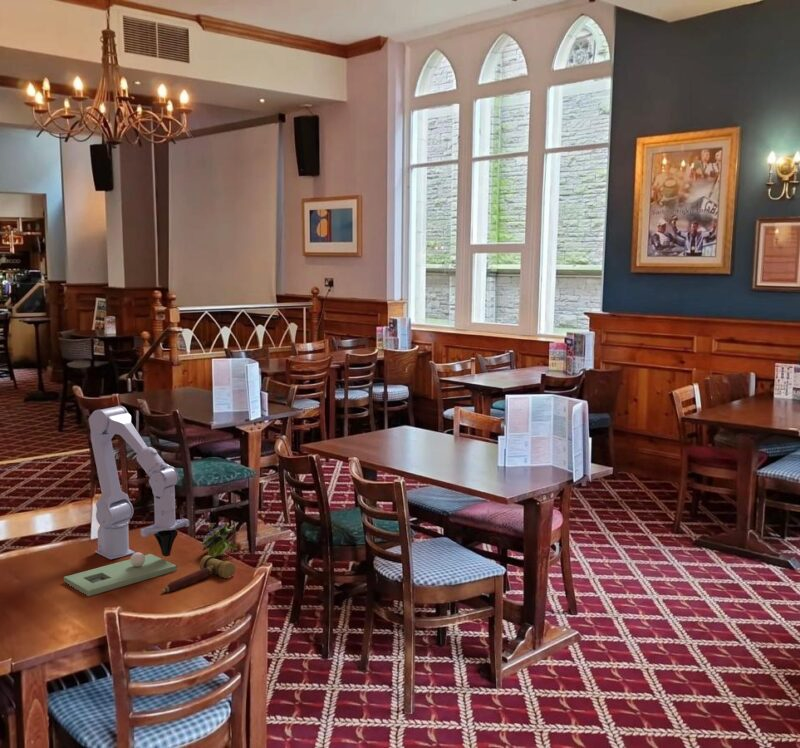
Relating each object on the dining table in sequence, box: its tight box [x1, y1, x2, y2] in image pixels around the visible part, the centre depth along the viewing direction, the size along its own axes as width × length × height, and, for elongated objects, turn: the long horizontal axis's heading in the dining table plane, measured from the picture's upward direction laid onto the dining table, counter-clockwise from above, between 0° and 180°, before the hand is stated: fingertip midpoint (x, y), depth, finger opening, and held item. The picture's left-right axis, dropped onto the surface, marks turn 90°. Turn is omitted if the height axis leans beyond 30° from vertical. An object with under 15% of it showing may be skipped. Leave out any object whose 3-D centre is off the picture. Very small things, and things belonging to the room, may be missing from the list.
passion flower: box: [201, 521, 238, 559], centre depth 246 cm, size 11×11×12 cm
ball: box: [129, 552, 145, 567], centre depth 231 cm, size 4×4×4 cm
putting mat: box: [63, 553, 178, 597], centre depth 228 cm, size 14×26×2 cm, turn 137°
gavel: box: [161, 554, 236, 594], centre depth 224 cm, size 21×5×10 cm
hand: (166, 555), depth 238 cm, fingers closed
